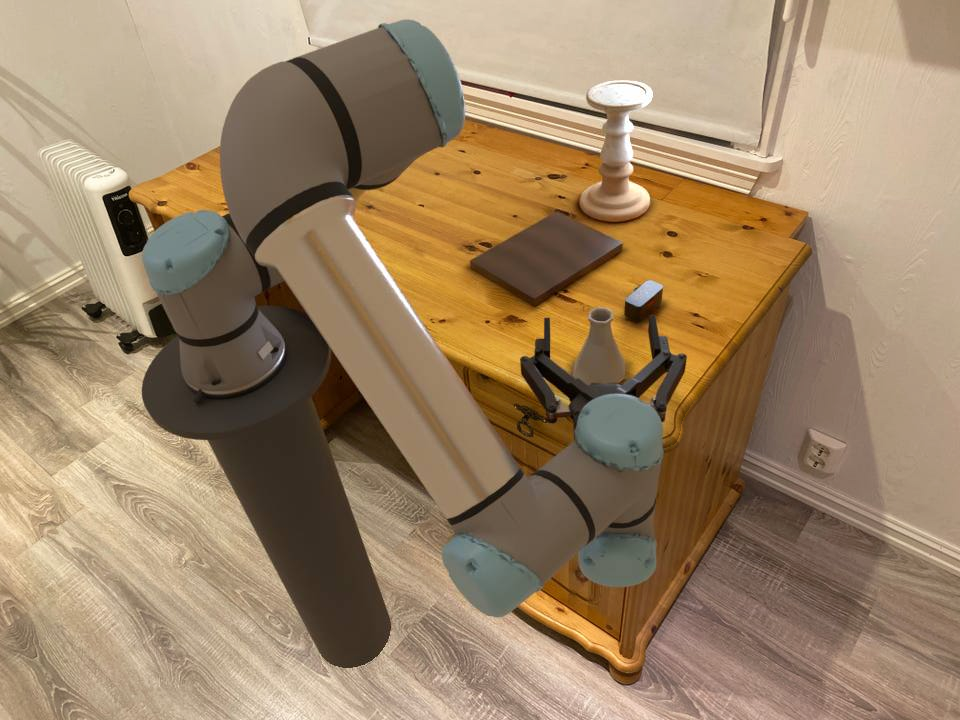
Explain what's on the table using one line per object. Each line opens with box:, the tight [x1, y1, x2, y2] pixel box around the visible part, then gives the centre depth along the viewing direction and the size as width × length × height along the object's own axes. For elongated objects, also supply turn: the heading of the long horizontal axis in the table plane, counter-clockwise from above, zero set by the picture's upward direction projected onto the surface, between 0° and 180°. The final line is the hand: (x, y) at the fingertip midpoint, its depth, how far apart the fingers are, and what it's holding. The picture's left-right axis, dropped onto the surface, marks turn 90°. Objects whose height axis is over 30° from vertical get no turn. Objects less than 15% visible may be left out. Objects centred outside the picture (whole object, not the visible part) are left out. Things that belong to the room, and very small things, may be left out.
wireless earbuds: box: [623, 279, 664, 323], centre depth 104 cm, size 5×7×3 cm, turn 136°
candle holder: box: [579, 79, 653, 223], centre depth 120 cm, size 12×12×20 cm
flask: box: [571, 306, 626, 385], centre depth 93 cm, size 7×7×10 cm
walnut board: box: [469, 210, 624, 307], centre depth 116 cm, size 20×15×2 cm
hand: (598, 324), depth 94 cm, fingers open, 13 cm apart
